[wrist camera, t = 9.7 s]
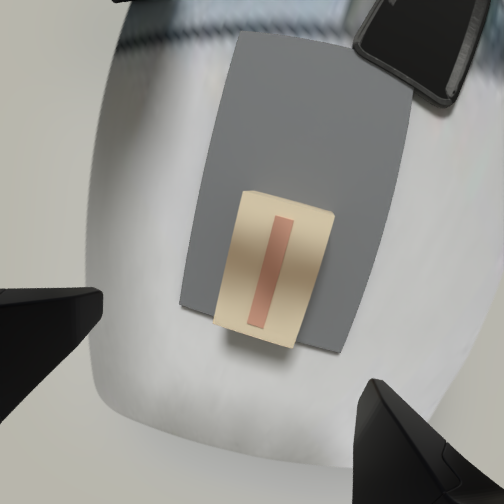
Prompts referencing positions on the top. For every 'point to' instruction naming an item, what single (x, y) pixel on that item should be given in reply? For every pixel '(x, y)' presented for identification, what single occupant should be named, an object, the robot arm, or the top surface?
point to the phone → (424, 43)
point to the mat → (302, 166)
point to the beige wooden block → (272, 267)
